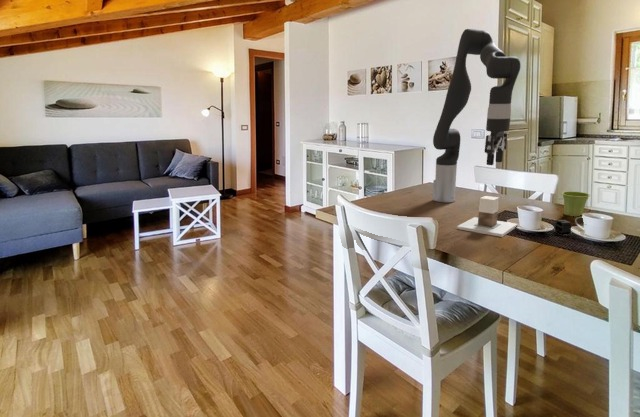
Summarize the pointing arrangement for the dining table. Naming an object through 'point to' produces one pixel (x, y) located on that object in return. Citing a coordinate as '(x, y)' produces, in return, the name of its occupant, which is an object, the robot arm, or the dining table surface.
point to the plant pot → (574, 203)
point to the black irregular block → (562, 227)
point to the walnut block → (487, 219)
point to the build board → (496, 230)
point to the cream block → (488, 204)
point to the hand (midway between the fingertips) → (494, 163)
